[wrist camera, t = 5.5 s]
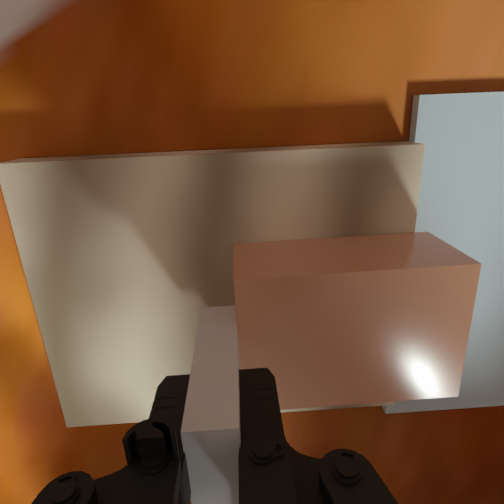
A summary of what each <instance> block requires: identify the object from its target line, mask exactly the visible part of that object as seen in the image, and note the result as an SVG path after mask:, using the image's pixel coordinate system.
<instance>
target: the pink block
mask: <svg viewBox="0 0 504 504" xmlns="http://www.w3.org/2000/svg"><path fill="white" fill-rule="evenodd" d="M480 270H481V263H479V262H478V261H476V260H474V259H473V258H471V257H469V256H468V255H466V254H464V253H463V252H461V251H459V250H458V249H456V248H454V247H453V246H451V245H449V244H448V243H446V242H444V241H443V240H441V239H439V238H438V237H436V236H434V235H433V234H431V233H429V232H412V233H396V234H379V235H363V236H347V237H331V238H315V239H299V240H283V241H267V242H251V243H235V244H234V279H233V280H234V293H235V307H236V321H237V331H238V344H239V357H240V369H254V368H268V369H269V370H270V371H271V373H272V374H273V375H274V376H275V381H276V387H277V393H278V400H279V406H280V410H285V409H299V408H312V407H326V406H339V405H353V404H366V403H380V402H393V401H407V400H420V399H434V398H447V397H458V395H459V389H460V384H461V378H462V372H463V367H464V361H465V355H466V350H467V344H468V338H469V333H470V327H471V321H472V315H473V310H474V304H475V298H476V293H477V287H478V281H479V276H480Z"/></svg>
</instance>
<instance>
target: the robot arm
mask: <svg viewBox="0 0 504 504" xmlns="http://www.w3.org/2000/svg"><path fill="white" fill-rule="evenodd" d="M122 441H123V445H124V450H125V454H126V459H127V463H128V465H127V466H125V467H124V468H122V469H121V470H119V471H117V472H115V473H113V474H110V475H107V476H104V477H102V478H99V479H96V480H93V479H92V478H91V476H90V475H89V474H87V473H85V472H82V471H75V472H69V473H66V474H63V475H60V476H59V477H57V478H56V479H54V480H53V481H51V482H50V483H49V484H48V485H47V486H46V487H45V488H44V489H43V490H42V491H41V492H40V493H39V494H38V496H37V497H36V498H35V500H34V501H33V502H32V504H190V498H191V504H398V503H397V501H396V500H395V498H394V497H393V495H392V494H391V493H390V491H389V490H388V488H387V487H386V485H385V484H384V482H383V481H382V479H381V478H380V476H379V475H378V474H377V472H376V471H375V469H374V468H373V466H372V465H371V463H370V462H369V461H368V460H367V459H366V458H365V457H364V456H362V455H361V454H359V453H357V452H355V451H352V450H348V449H336V450H332V451H331V452H329V453H327V454H325V456H324V457H323V458H322V459H318V458H313V457H309V456H306V455H303V454H300V453H299V452H297V451H295V450H294V449H293V448H292V447H291V446H290V445H289V444H288V442H287V441H286V439H285V435H284V430H283V424H282V418H281V412H280V406H279V400H278V393H277V387H276V381H275V376H274V375H273V374H272V373H271V371H270V370H269V369H268V368H254V369H240V357H239V344H238V331H237V321H236V307H235V305H232V306H217V307H202V308H201V312H200V318H199V324H198V330H197V336H196V342H195V348H194V354H193V360H192V366H191V372H190V374H185V375H172V376H166V377H165V378H164V379H163V381H162V382H161V383H160V384H159V385H158V387H157V391H156V394H155V398H154V401H153V405H152V410H151V412H150V416H149V419H147V420H143V421H141V422H139V423H137V424H135V425H134V426H133V427H132V428H131V429H130V430H128V431H127V433H126V434H125V436H124V438H123V440H122Z"/></svg>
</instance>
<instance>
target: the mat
mask: <svg viewBox="0 0 504 504" xmlns="http://www.w3.org/2000/svg"><path fill="white" fill-rule="evenodd" d="M409 142H414V143H421V144H425V150H424V158H423V167H422V175H421V184H420V192H419V201H418V209H417V218H416V226H415V232H429V233H431V234H433V235H434V236H436V237H438V238H439V239H441V240H443V241H444V242H446V243H448V244H449V245H451V246H453V247H454V248H456V249H458V250H459V251H461V252H463V253H464V254H466V255H468V256H469V257H471V258H473V259H474V260H476V261H478V262H479V263H481V270H480V276H479V281H478V287H477V293H476V298H475V304H474V310H473V315H472V321H471V327H470V333H469V338H468V344H467V350H466V355H465V361H464V367H463V372H462V378H461V384H460V389H459V395H458V397H447V398H434V399H420V400H407V401H395V405H384V406H382V408H383V410H384V412H385V414H390V413H405V412H419V411H433V410H448V409H462V408H476V407H491V406H504V91H501V92H477V93H452V94H428V95H414V96H413V106H412V116H411V126H410V135H409Z"/></svg>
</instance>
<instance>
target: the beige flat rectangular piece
mask: <svg viewBox="0 0 504 504" xmlns="http://www.w3.org/2000/svg"><path fill="white" fill-rule="evenodd" d="M424 150H425V144H421V143H414V142H408V141H394V142H372V143H350V144H328V145H306V146H284V147H262V148H240V149H218V150H195V151H173V152H151V153H129V154H107V155H85V156H63V157H41V158H20V159H15V160H11V161H6V162H1V163H0V185H1V188H2V192H3V196H4V199H5V203H6V207H7V210H8V214H9V218H10V221H11V225H12V229H13V232H14V236H15V240H16V243H17V247H18V251H19V254H20V258H21V262H22V265H23V269H24V272H25V276H26V280H27V283H28V287H29V291H30V294H31V298H32V302H33V305H34V309H35V313H36V316H37V320H38V324H39V327H40V331H41V335H42V338H43V342H44V346H45V349H46V353H47V357H48V360H49V364H50V367H51V371H52V375H53V378H54V382H55V386H56V389H57V393H58V397H59V400H60V404H61V408H62V411H63V415H64V419H65V422H66V426H67V427H80V426H94V425H109V424H123V423H138V422H141V421H143V420H147V419H149V416H150V412H151V410H152V405H153V401H154V398H155V394H156V391H157V387H158V385H159V384H160V383H161V382H162V381H163V379H164V378H165V377H166V376H172V375H185V374H190V372H191V366H192V360H193V354H194V348H195V342H196V336H197V330H198V324H199V318H200V312H201V308H202V307H217V306H232V305H235V293H234V280H233V279H234V244H235V243H251V242H267V241H283V240H299V239H315V238H331V237H347V236H363V235H379V234H396V233H412V232H415V226H416V218H417V209H418V201H419V192H420V184H421V175H422V167H423V158H424ZM384 405H395V401H393V402H380V403H366V404H353V405H339V406H326V407H312V408H299V409H285V410H280V412H281V413H282V412H297V411H311V410H326V409H340V408H355V407H369V406H384Z"/></svg>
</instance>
